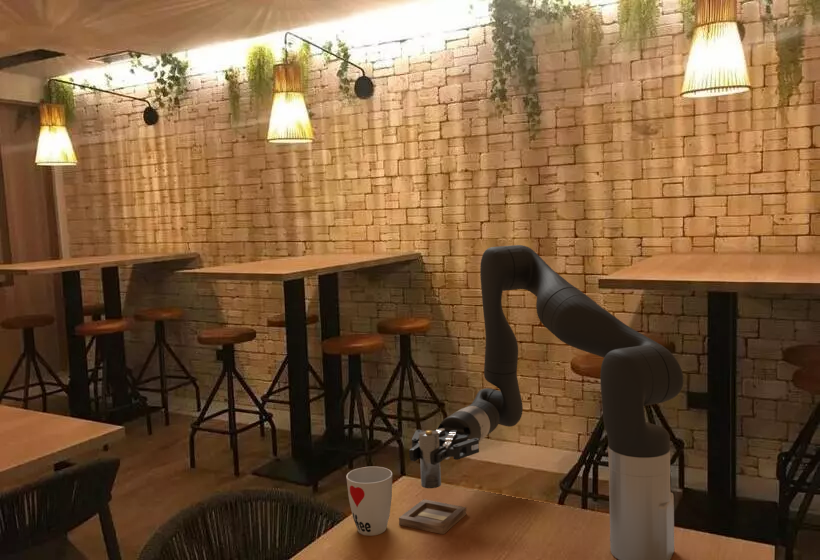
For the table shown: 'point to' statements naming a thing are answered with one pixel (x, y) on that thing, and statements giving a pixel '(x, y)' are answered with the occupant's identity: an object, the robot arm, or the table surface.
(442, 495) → the table surface
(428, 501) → the bay
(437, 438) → the cell
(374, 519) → the cup
